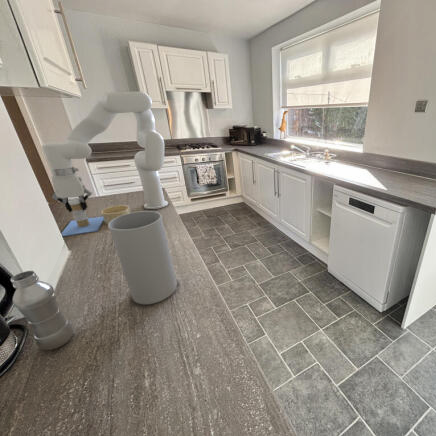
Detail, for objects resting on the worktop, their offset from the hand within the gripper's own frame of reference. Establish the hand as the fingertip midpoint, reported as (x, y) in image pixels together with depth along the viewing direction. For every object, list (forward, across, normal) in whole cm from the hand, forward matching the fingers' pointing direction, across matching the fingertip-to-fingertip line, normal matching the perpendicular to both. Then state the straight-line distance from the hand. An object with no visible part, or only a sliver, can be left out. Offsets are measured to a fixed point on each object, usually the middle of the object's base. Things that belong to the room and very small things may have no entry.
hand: (78, 209), depth 113 cm
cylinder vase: (+9, -32, +66) cm, 74 cm away
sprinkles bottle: (+8, 0, 0) cm, 8 cm away
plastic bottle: (+9, -11, +76) cm, 77 cm away
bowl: (+9, -14, -1) cm, 16 cm away
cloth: (+9, 0, 0) cm, 9 cm away
